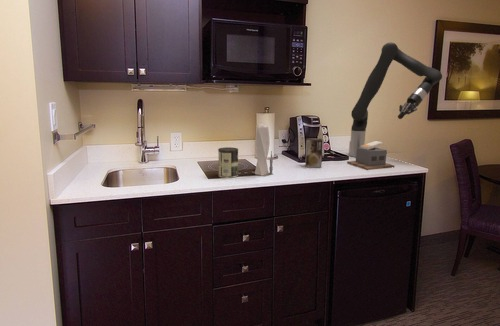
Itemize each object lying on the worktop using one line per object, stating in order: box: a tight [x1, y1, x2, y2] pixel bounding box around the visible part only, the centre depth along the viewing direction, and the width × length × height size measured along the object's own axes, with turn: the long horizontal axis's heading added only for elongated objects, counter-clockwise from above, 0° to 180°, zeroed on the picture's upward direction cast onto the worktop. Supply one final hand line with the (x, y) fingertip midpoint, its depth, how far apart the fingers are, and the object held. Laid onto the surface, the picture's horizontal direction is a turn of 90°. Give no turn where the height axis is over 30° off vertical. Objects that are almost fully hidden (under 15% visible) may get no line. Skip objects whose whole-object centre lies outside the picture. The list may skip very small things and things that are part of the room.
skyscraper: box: [254, 121, 274, 178], centre depth 191 cm, size 8×8×28 cm
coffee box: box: [304, 137, 323, 168], centre depth 212 cm, size 9×6×16 cm
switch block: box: [355, 147, 388, 166], centre depth 217 cm, size 12×12×10 cm
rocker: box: [361, 140, 384, 150], centre depth 216 cm, size 6×11×2 cm, turn 112°
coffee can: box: [217, 146, 239, 179], centre depth 188 cm, size 10×10×14 cm
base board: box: [346, 160, 396, 171], centre depth 218 cm, size 18×20×1 cm
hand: (399, 118), depth 220 cm, fingers closed
